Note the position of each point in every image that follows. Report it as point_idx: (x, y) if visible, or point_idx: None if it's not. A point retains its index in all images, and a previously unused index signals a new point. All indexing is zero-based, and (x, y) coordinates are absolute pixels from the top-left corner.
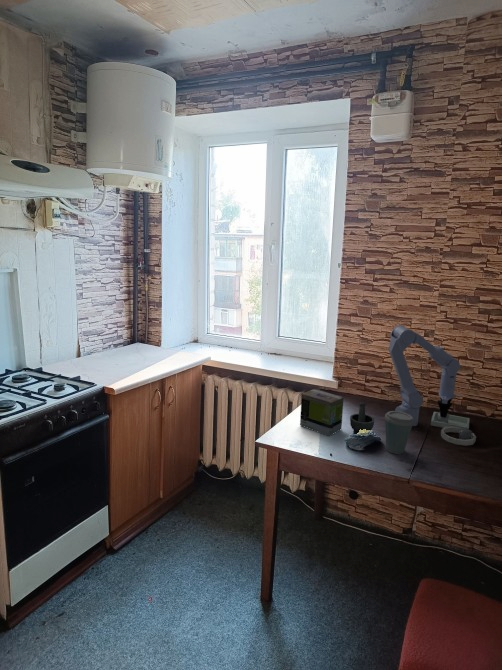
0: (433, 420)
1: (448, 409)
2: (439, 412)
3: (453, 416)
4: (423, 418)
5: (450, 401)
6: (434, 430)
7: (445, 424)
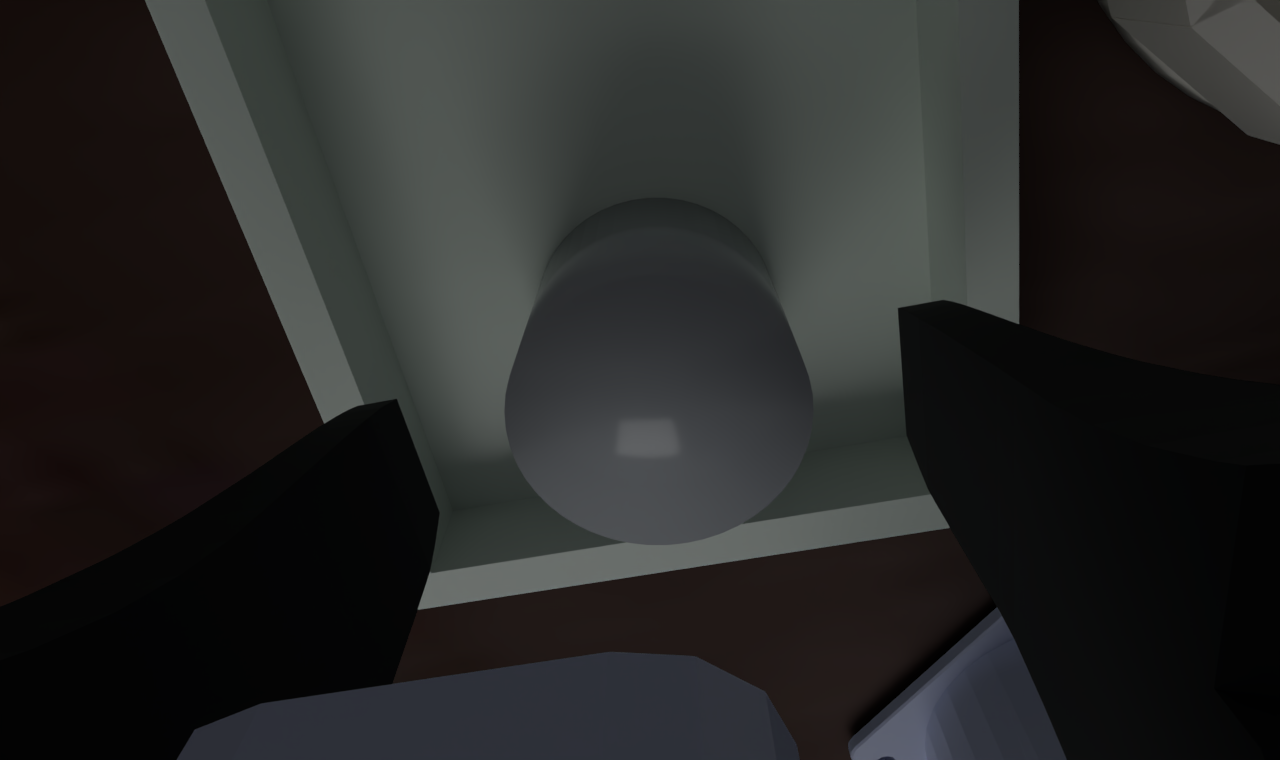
0: (921, 485)
1: (1230, 385)
2: (638, 527)
3: (284, 183)
4: (606, 623)
5: (187, 580)
6: (1088, 330)
7: (1012, 201)
